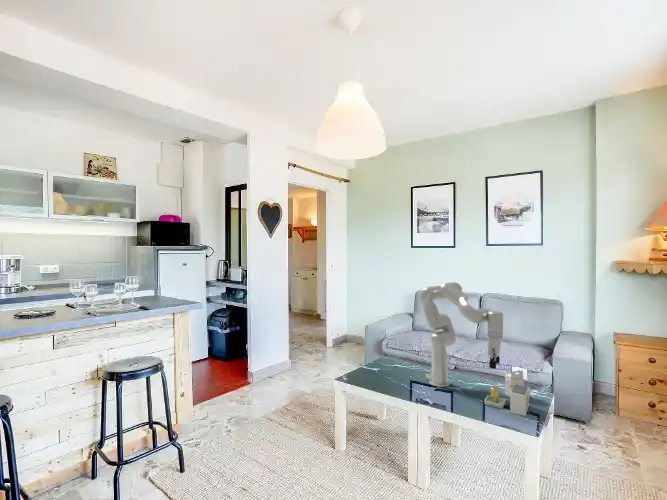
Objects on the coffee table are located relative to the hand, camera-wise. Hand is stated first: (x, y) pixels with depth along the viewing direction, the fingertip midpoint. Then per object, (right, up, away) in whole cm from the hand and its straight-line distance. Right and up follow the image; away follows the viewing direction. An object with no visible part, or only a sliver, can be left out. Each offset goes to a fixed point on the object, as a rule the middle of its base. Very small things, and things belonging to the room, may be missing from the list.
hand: (494, 365), depth 197 cm
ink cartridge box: (+16, -21, +11) cm, 28 cm away
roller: (0, -20, 0) cm, 20 cm away
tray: (0, -20, 0) cm, 20 cm away
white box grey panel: (+10, -21, -7) cm, 24 cm away
